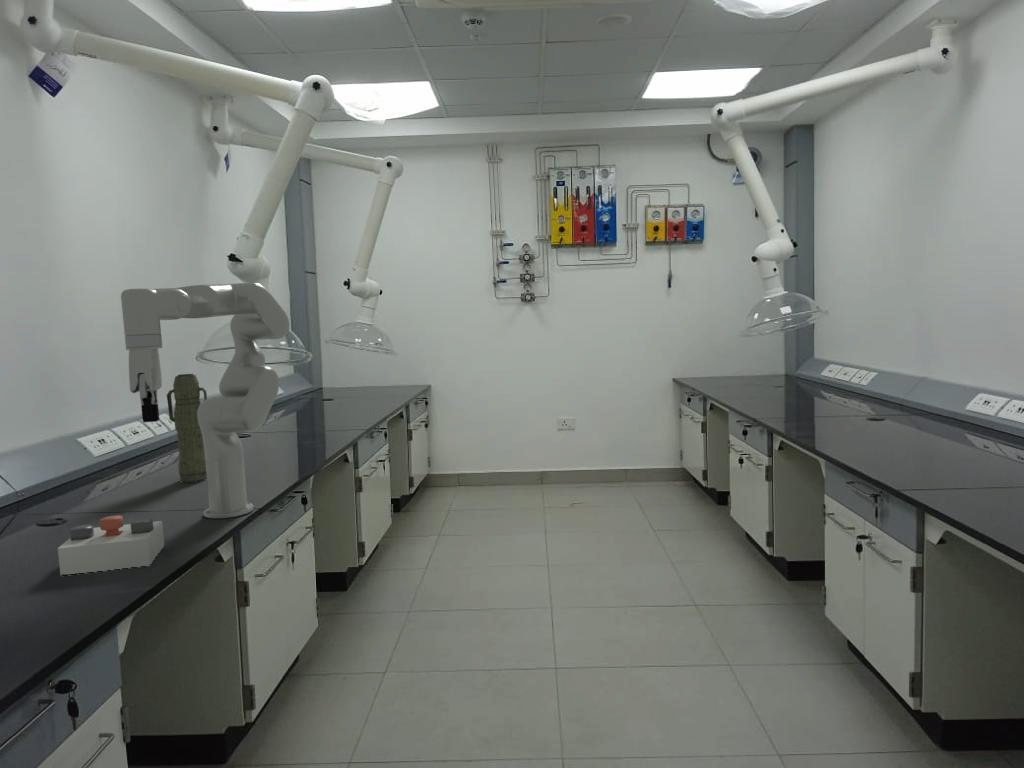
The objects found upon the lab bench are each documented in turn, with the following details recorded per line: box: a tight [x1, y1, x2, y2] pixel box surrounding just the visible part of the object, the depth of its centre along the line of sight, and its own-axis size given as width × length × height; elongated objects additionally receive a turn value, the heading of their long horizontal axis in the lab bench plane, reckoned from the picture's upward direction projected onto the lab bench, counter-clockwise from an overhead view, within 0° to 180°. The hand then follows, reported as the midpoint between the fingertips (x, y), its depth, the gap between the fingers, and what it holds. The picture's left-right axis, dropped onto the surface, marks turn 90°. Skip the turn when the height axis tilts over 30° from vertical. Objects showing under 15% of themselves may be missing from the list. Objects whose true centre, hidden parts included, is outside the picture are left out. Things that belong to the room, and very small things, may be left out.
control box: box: [57, 520, 165, 576], centre depth 156 cm, size 14×17×6 cm
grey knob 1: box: [69, 524, 94, 540], centre depth 155 cm, size 4×4×6 cm
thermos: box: [166, 373, 208, 483], centre depth 233 cm, size 9×12×35 cm
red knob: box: [99, 515, 124, 537], centre depth 156 cm, size 4×4×6 cm
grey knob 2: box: [130, 518, 154, 534], centre depth 158 cm, size 4×4×6 cm
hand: (151, 421), depth 165 cm, fingers closed
